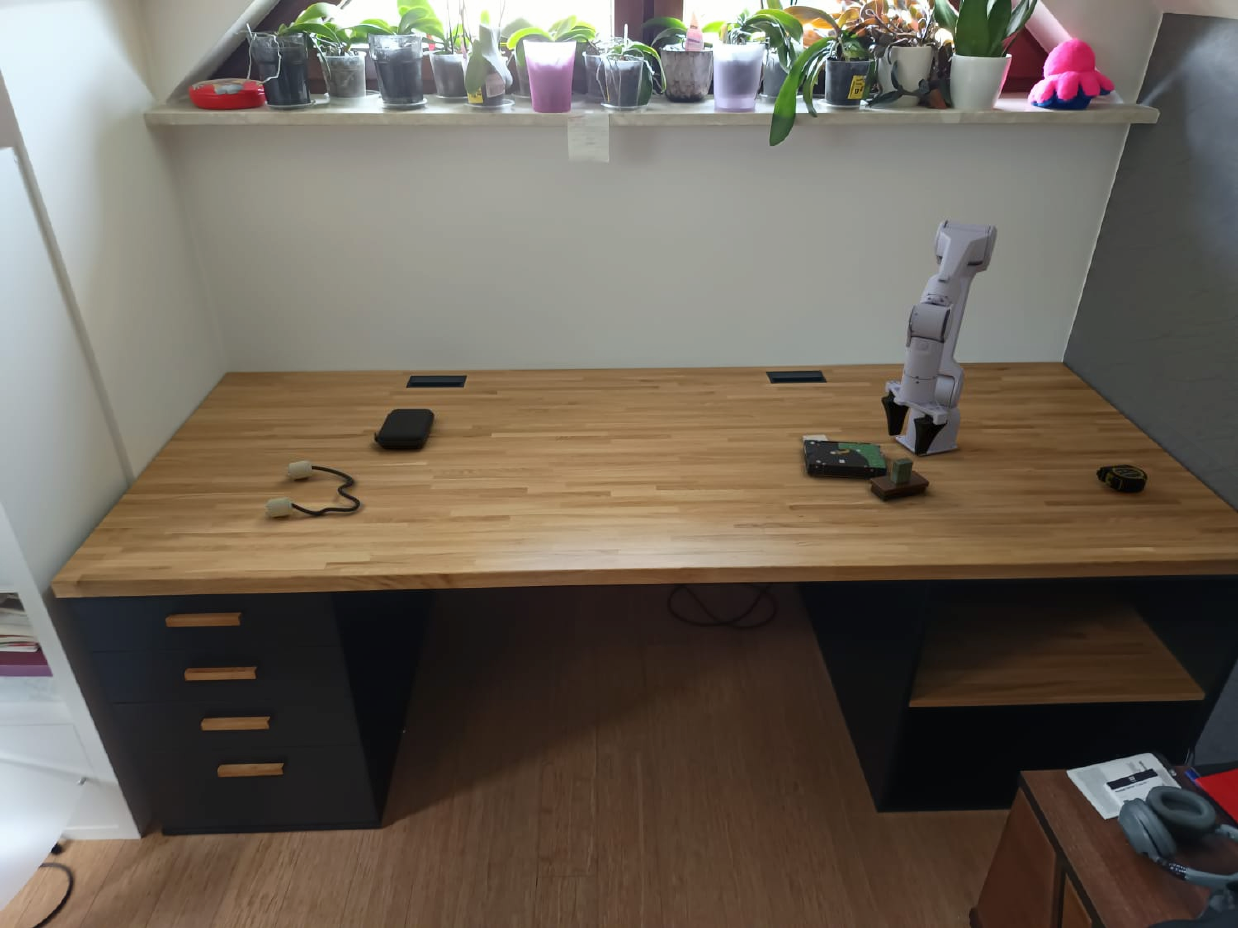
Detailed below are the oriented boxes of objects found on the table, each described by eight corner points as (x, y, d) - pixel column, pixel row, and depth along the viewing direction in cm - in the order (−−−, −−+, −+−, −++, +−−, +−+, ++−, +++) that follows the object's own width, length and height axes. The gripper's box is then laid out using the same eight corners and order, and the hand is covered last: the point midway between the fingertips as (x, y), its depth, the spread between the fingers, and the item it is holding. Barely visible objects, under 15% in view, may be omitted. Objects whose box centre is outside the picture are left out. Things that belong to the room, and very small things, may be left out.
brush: (911, 481, 163) (917, 451, 160) (927, 493, 159) (933, 462, 156) (868, 490, 160) (873, 459, 157) (882, 502, 156) (888, 471, 153)
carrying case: (386, 418, 185) (370, 451, 172) (384, 405, 183) (368, 437, 170) (436, 418, 185) (424, 451, 172) (435, 405, 183) (423, 437, 171)
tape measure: (1125, 477, 165) (1131, 460, 163) (1151, 496, 159) (1157, 478, 157) (1093, 480, 164) (1098, 463, 162) (1118, 499, 158) (1123, 481, 156)
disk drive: (806, 477, 164) (887, 480, 163) (808, 464, 163) (889, 467, 162) (802, 451, 174) (878, 454, 172) (803, 438, 172) (880, 441, 171)
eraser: (829, 441, 175) (828, 445, 176) (824, 434, 178) (824, 439, 178) (807, 442, 175) (806, 446, 175) (803, 435, 177) (802, 439, 178)
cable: (372, 471, 165) (370, 455, 163) (357, 517, 151) (354, 500, 149) (288, 473, 164) (285, 457, 162) (264, 520, 149) (261, 503, 148)
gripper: (875, 360, 153) (864, 429, 160) (928, 392, 141) (913, 466, 148) (909, 356, 155) (897, 424, 162) (963, 387, 143) (948, 459, 150)
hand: (907, 443), depth 155 cm, fingers open, 7 cm apart
